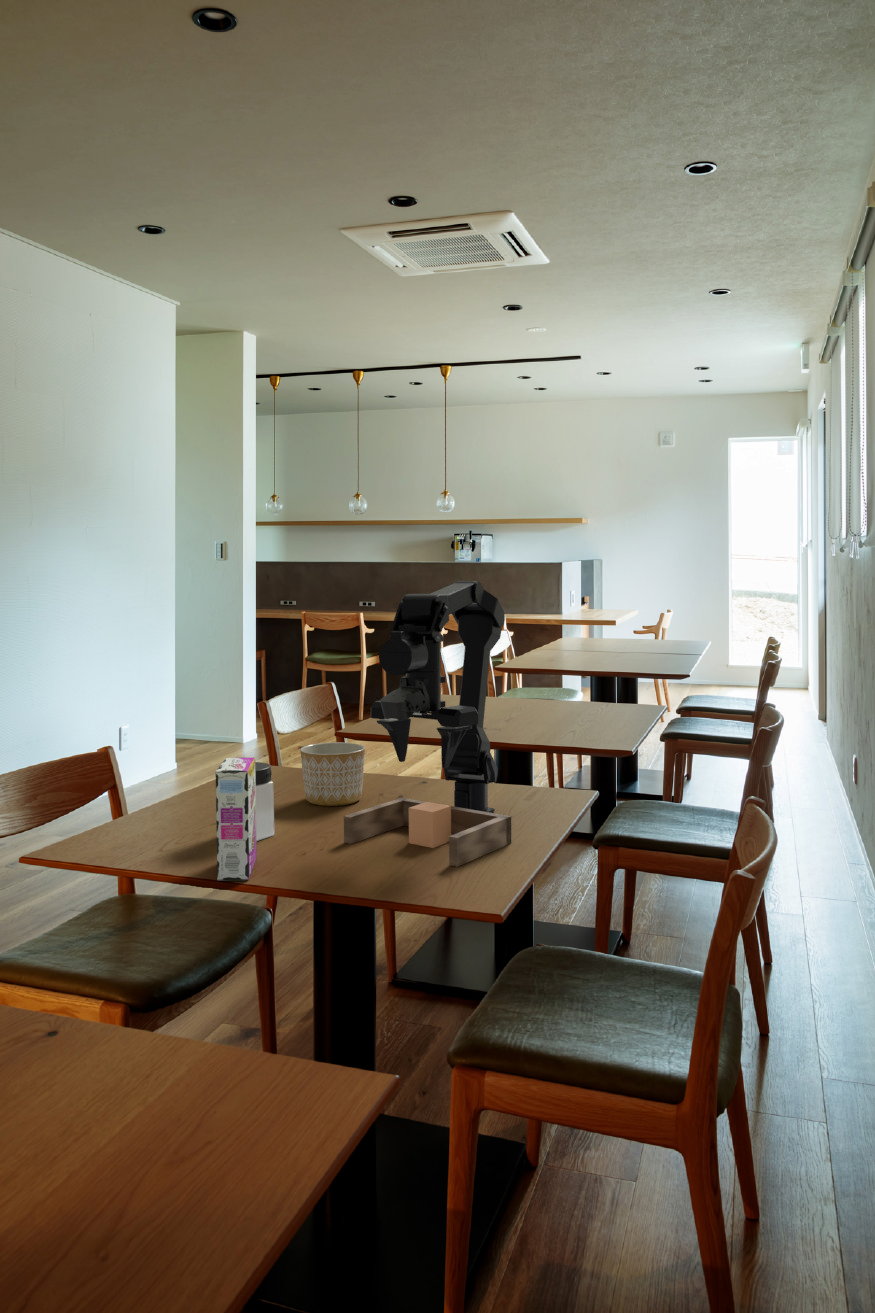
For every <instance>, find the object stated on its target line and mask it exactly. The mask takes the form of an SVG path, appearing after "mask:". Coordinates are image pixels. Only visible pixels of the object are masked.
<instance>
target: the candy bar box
mask: <svg viewBox="0 0 875 1313" xmlns="http://www.w3.org/2000/svg"><path fill="white" fill-rule="evenodd" d="M255 762H256V757H244V756H243V757H225V758H224V760H223V761H222V762H221V764H220V765H219V766H218V768H217V769H216V770H215V806H216V808H215V814H216V819H215V820H216V824H215V825H216V872H217V875H216V880H217V881H219V882H220V881H221V882H226V881H227V882H229V881H230V882H231V881H234V882H235V881H248V880H250V877H251V875H252V872H253V869H254V866H255V864H256V860H257V856H258V855H257V841H256V776H255Z"/></svg>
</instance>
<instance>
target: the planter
mask: <svg viewBox="0 0 875 1313" xmlns="http://www.w3.org/2000/svg"><path fill="white" fill-rule="evenodd" d="M299 753H300V760H301V761H300V762H301V769H302V777H303V786H304V796H305V798H306V801H307V802H308V803H310V804H313V805H316V806H321V807H340V806H347V805H351V804H355V803H357V802H358V801H359V800H361V798H362V796H363V795H362V794H363V783H364V771H365V770H364V769H365V768H364V766H365V758H366V757H365V756H366V747H365V746H364V745H362V744H359V743H354V742H353V743H352V742H337V741H336V742H319V743H313V744H312V743H311V744H308V745H304V746H301V748H300V749H299Z"/></svg>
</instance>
